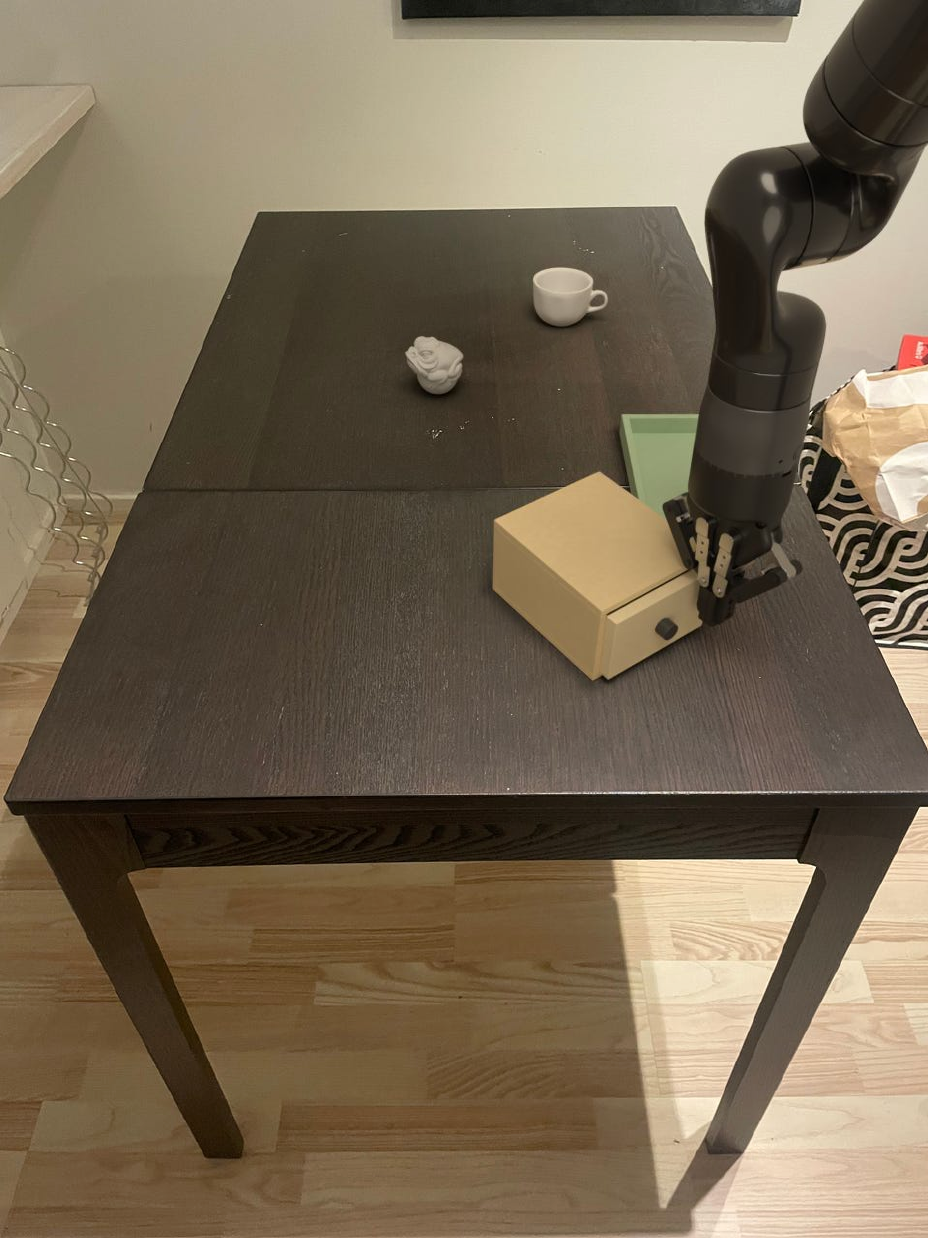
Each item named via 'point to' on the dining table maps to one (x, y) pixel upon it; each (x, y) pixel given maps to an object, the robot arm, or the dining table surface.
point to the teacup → (564, 295)
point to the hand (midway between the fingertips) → (713, 619)
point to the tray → (658, 455)
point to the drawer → (650, 623)
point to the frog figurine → (435, 364)
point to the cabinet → (581, 562)
